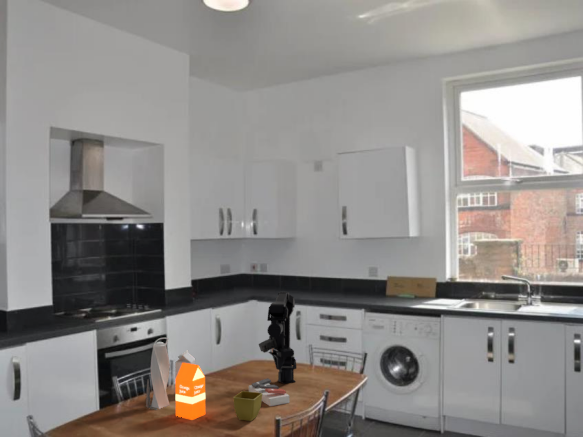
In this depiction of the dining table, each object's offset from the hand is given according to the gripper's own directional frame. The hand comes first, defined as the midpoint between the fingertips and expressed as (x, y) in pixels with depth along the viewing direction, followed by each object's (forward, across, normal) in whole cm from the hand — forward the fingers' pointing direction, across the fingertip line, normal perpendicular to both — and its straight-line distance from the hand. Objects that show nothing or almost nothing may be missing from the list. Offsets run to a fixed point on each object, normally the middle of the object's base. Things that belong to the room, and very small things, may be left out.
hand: (278, 369), depth 229 cm
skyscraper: (+12, -14, -48) cm, 52 cm away
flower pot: (+12, +18, -22) cm, 31 cm away
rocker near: (+8, -9, -4) cm, 13 cm away
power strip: (+12, -5, -4) cm, 14 cm away
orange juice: (+12, +3, -40) cm, 42 cm away
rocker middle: (+8, -2, -4) cm, 9 cm away
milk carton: (+12, -24, -34) cm, 43 cm away
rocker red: (+8, +5, -4) cm, 10 cm away
